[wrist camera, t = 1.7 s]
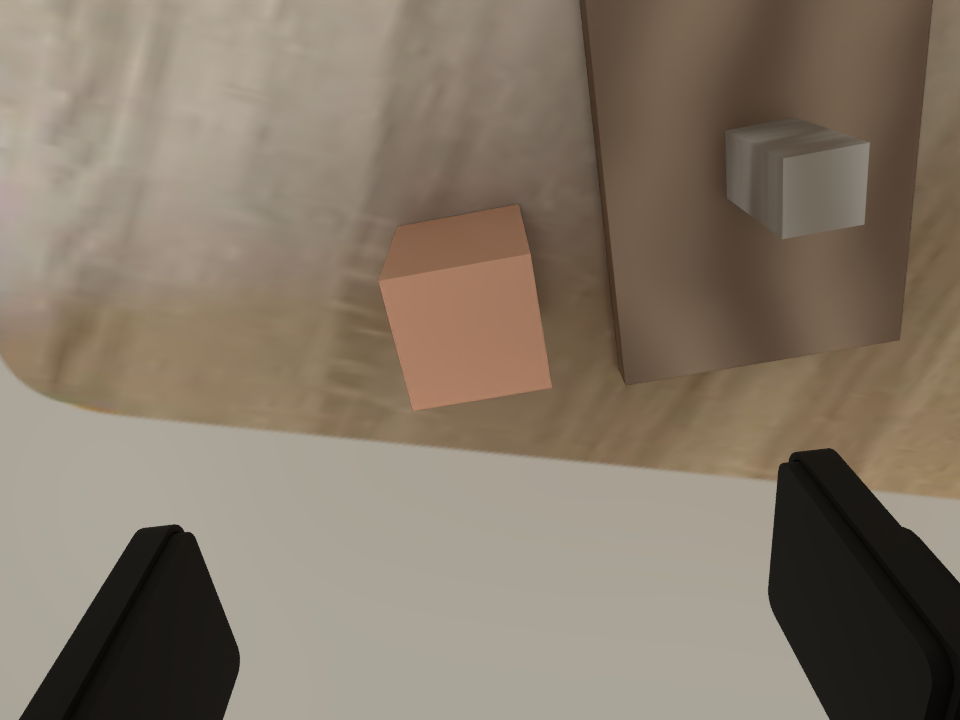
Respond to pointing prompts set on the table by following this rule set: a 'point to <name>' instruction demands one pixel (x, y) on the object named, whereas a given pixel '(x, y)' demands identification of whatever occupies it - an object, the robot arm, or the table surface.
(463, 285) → the salmon orange block
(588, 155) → the table surface
